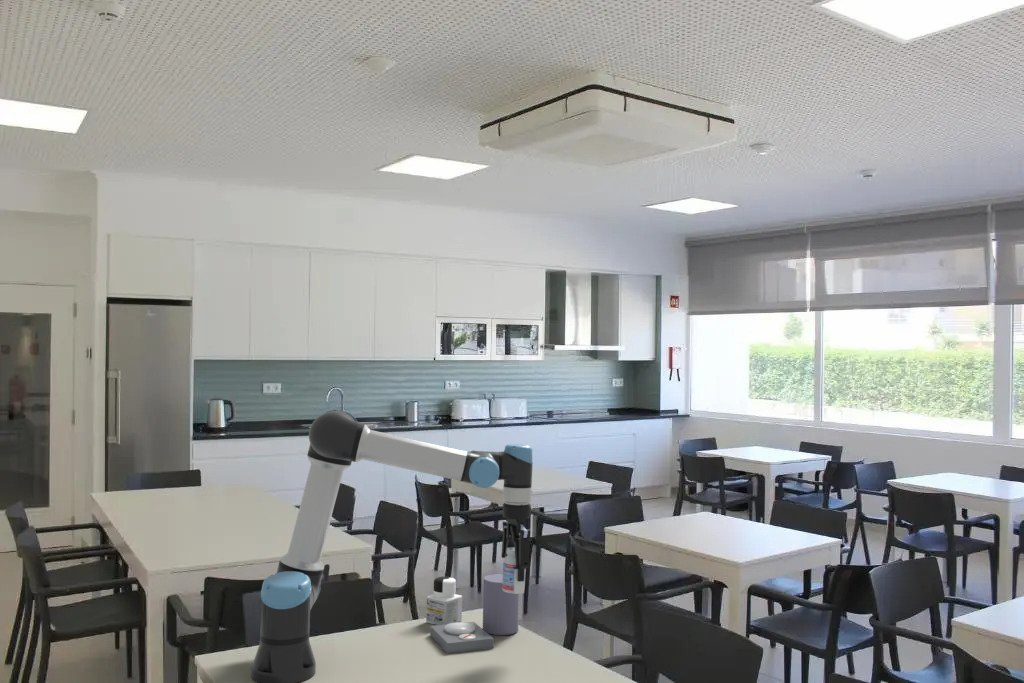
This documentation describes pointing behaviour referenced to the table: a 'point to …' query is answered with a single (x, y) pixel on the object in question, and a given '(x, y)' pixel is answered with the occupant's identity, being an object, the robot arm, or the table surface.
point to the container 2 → (499, 607)
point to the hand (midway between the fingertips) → (513, 589)
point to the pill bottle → (509, 571)
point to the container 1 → (444, 603)
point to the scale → (461, 637)
